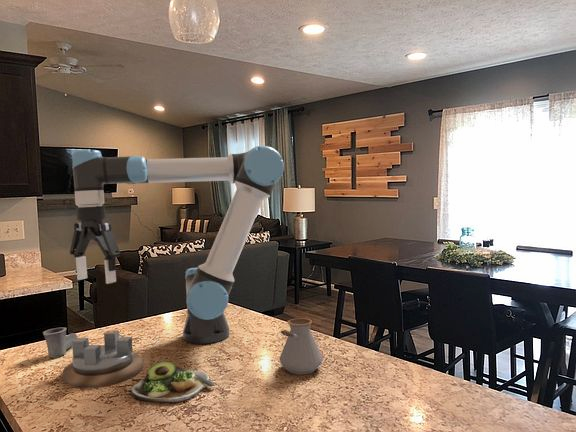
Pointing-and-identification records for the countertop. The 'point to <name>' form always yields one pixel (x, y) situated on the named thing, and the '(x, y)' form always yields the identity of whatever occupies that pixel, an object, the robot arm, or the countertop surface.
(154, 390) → the salad plate
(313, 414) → the countertop surface
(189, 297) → the robot arm
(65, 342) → the pipe
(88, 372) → the four-tab metal disc
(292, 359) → the coffee pot
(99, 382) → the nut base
